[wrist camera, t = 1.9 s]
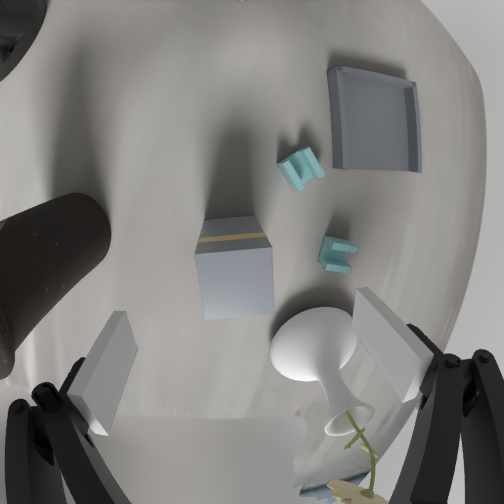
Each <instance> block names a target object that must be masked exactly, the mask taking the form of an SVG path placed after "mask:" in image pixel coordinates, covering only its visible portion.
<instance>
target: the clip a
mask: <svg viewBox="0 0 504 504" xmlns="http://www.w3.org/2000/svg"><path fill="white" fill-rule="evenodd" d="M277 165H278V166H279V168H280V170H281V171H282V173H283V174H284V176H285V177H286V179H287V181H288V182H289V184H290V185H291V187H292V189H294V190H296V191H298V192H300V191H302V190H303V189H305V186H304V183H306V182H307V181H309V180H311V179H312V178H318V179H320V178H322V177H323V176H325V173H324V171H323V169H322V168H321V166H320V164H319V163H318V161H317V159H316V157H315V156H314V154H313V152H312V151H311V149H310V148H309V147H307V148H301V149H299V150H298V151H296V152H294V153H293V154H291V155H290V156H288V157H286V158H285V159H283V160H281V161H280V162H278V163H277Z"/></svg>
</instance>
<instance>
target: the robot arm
mask: <svg viewBox="0 0 504 504" xmlns="http://www.w3.org/2000/svg"><path fill="white" fill-rule="evenodd" d="M45 11H46V3H45V0H0V81H2V80H3V79H4V78H5V77H6V76H7V75H8V74H9V73H10V72H11V71H12V70H13V69H14V68H15V66H16V65H17V64H18V63H19V61H20V60H21V59H22V57H23V56H24V55H25V53H26V52H27V50H28V49H29V47H30V46H31V44H32V42H33V41H34V39H35V37H36V35H37V33H38V31H39V29H40V27H41V25H42V22H43V19H44V16H45ZM351 328H352V330H353V331H354V333H355V334H356V336H357V337H358V338H359V340H360V341H361V343H362V344H363V345H364V347H365V348H366V350H367V351H368V353H369V354H370V356H371V357H372V358H373V360H374V361H375V363H376V364H377V366H378V367H379V369H380V370H381V372H382V373H383V375H384V376H385V378H386V379H387V381H388V382H389V383H390V385H391V386H392V388H393V389H394V391H395V393H396V394H397V396H398V397H399V399H400V400H401V402H402V403H404V402H406V401H409V400H411V399H413V398H415V397H416V395H417V393H418V391H419V389H420V391H421V392H422V393H423V395H422V397H421V399H420V401H419V403H418V404H417V406H416V409H418V407H419V409H418V414H417V418H416V423H415V427H414V431H413V435H412V438H411V442H410V446H409V449H408V452H407V455H406V458H405V462H404V465H403V467H402V470H401V473H400V476H399V479H398V482H397V484H396V487H395V489H394V491H393V494H392V496H391V499H390V501H389V503H388V504H447V499H448V496H449V492H450V488H451V484H452V480H453V475H454V471H455V465H456V460H457V454H458V447H459V439H460V432H461V440H462V447H463V459H464V472H465V504H504V380H503V377H502V374H501V372H500V370H499V367H498V365H497V363H496V360H495V358H494V356H493V355H492V354H491V353H490V352H489V351H487V350H483V349H479V350H476V351H475V352H474V354H473V357H472V359H465V360H461V359H460V358H459V357H457V356H456V355H453V354H443V353H442V352H441V351H440V349H439V348H438V347H437V346H436V345H435V344H434V343H433V342H432V341H431V340H430V339H428V337H427V336H426V335H424V333H423V332H422V331H421V330H420V329H419V328H418V327H416V326H414V325H412V324H405V323H404V322H403V321H402V320H401V319H400V318H399V317H398V316H397V315H396V314H395V313H394V312H393V311H392V310H391V309H390V308H389V307H388V306H387V305H386V304H385V303H384V302H383V301H382V300H380V299H379V298H378V297H377V296H376V295H375V294H374V293H373V292H372V291H371V290H370V289H369V288H368V287H364V288H358V289H356V296H355V304H354V311H353V319H352V325H351ZM137 351H138V347H137V344H136V341H135V338H134V335H133V332H132V329H131V326H130V323H129V320H128V317H127V314H126V311H114V312H113V314H112V315H111V317H110V318H109V320H108V322H107V323H106V325H105V326H104V328H103V330H102V331H101V333H100V335H99V336H98V338H97V340H96V341H95V343H94V345H93V346H92V348H91V350H90V352H89V353H88V355H87V357H86V358H85V357H81V358H80V359H79V360H78V361H77V362H75V363H74V365H73V367H72V369H71V372H69V374H68V377H66V379H65V381H64V383H63V385H62V386H61V388H60V390H59V392H58V391H57V389H56V388H55V386H54V384H52V383H50V382H44V383H41V384H39V385H37V386H36V387H35V388H34V389H33V391H32V395H31V397H32V399H33V400H34V401H35V403H36V404H37V406H32V407H31V406H30V405H29V404H28V402H27V401H26V400H24V399H17V400H15V401H14V402H12V403H11V405H10V406H9V410H8V417H7V427H6V440H5V485H6V496H7V497H6V498H7V504H67V502H66V498H65V494H64V489H63V483H62V478H61V473H62V475H63V477H64V480H65V482H66V484H67V486H68V488H69V490H70V493H71V494H72V496H73V499H74V501H75V502H76V504H131V502H130V501H129V500H128V498H127V497H126V496H125V494H124V493H123V491H122V490H121V488H120V487H119V485H118V484H117V482H116V481H115V479H114V478H113V476H112V474H111V473H110V471H109V470H108V468H107V466H106V464H105V463H104V461H103V459H102V457H101V456H100V454H99V452H98V450H97V448H96V447H95V445H94V443H93V441H92V439H91V437H90V435H89V434H88V433H87V431H88V428H89V426H90V428H91V429H92V430H93V432H94V433H96V434H101V435H107V436H109V434H110V431H111V427H112V424H113V420H114V417H115V414H116V411H117V408H118V405H119V402H120V399H121V396H122V393H123V390H124V387H125V384H126V381H127V378H128V376H129V373H130V370H131V367H132V365H133V362H134V359H135V356H136V354H137ZM478 392H479V393H478ZM60 470H61V472H60Z"/></svg>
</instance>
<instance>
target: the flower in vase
mask: <svg viewBox="0 0 504 504" xmlns="http://www.w3.org/2000/svg"><path fill="white" fill-rule="evenodd" d="M352 319H353V318H352V317H351V316H350V315H349V314H348V313H347V312H345V311H343V310H341V309H338V308H334V307H318V308H312V309H308V310H306V311H303V312H301V313H299V314H297V315H295V316H294V317H292V318H291V319H289V320H288V321H287V322H286V323H285V324H284V325H282V327H281V328H280V329H279V330H278V331H277V333H276V334H275V336H274V338H273V340H272V343H271V346H270V359H271V361H272V364H273V365H274V367H275V368H276V369H277V370H278V371H279V372H280V373H281V374H282V375H284V376H286V377H288V378H290V379H294V380H299V381H315V380H319V381H320V383H321V384H322V386H323V388H324V391H325V394H326V396H327V400H328V405H329V418H328V421H327V423H326V426H325V432H326V434H328V435H331V436H340V435H345V434H348V433H351V432H353V431H355V430H356V431H357V435H356V436H355V437H354V438H353V439H352V441H351V442H350V443H348V444H347V445H346V446H345V447H344V449H345V448H350V446H351V444H353V443H354V442H355V441H356V440H357V439H358V438H359V437H361V439H362V440H363V442H364V443H365V445H364V444H360V446H361V447H362V448H363V449H364V450H366V451H368V452H369V453H370V455H371V461H372V470H371V481H370V487H369V489H365V488H363V487H359V486H357V485H355V484H352V483H348V482H345V481H340V480H334V481H330V482H331V483H328V484H327V486H328V487H329V488H331V489H333V491H334V492H332V493H330V495H331V496H332V497H334V498H336V499H341V502H342V503H344V504H388V503H389V502H388V501H387V500H385V499H384V498H383V497H381V496H379V495H376V494H374V492H373V486H374V478H375V457H379V456H378V454H377V453H376V452H375V451H374V450H372V448H371V446H370V445H369V443H368V441H367V440H366V438H365V437H364V435H363V434H362V433H363V432H364V430H365V428H363V429H362V430H361V431H360V429H359V428H360V427H362V426H363V425H365V424H366V423H367V422H368V421H369V420H370V419H371V418H372V416H373V415H374V412H375V409H374V407H373V406H372V405H370V404H366V403H363V402H361V401H359V400H358V399H357V398H356V397H355V396H354V395H353V394H352V393H351V392H350V391H349V389H348V388H347V386H346V385H345V383H344V381H343V379H342V377H341V375H340V371H339V370H340V369H341V368H342V367H343V366H344V365H345V364H346V362H347V361H348V360H349V358H350V357H351V355H352V353H353V351H354V349H355V347H356V344H357V336H356V334H355V333H354V331H353V330H352V328H351V325H352Z"/></svg>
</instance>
